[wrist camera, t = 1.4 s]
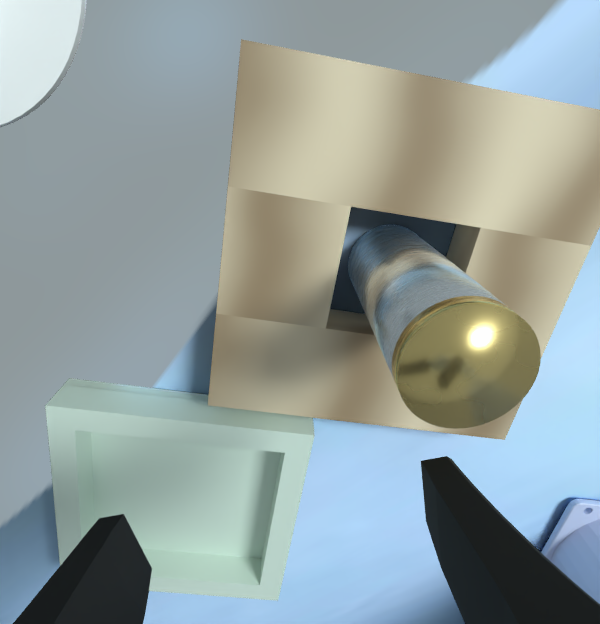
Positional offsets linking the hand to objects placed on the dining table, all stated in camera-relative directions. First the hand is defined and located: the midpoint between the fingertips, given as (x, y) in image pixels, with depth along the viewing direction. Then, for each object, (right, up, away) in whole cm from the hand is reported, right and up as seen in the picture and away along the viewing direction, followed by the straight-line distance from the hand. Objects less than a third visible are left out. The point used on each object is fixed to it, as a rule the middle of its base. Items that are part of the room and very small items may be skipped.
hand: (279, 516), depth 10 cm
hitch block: (+4, +7, +8) cm, 12 cm away
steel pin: (+4, +7, +8) cm, 12 cm away
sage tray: (-6, -5, +13) cm, 15 cm away
